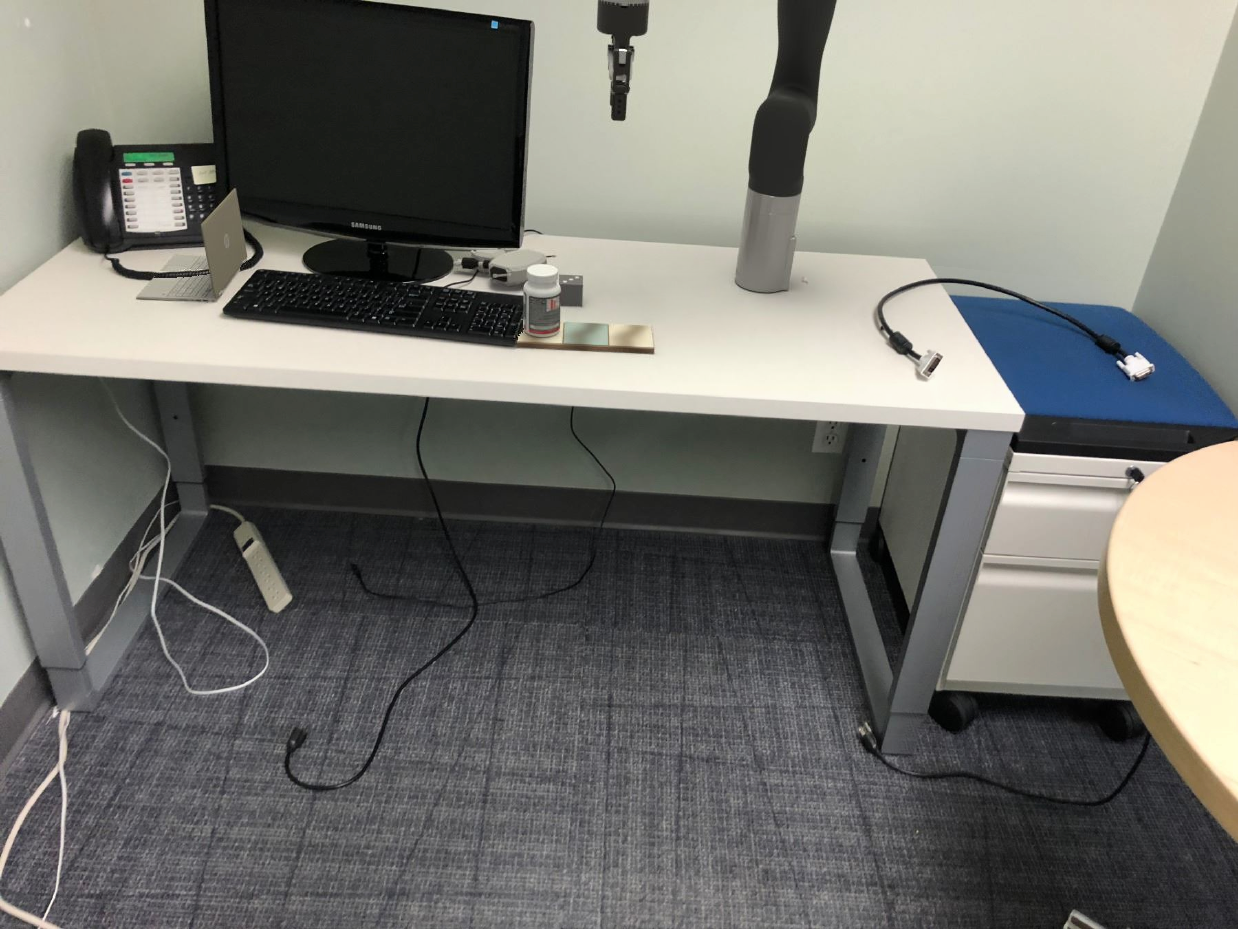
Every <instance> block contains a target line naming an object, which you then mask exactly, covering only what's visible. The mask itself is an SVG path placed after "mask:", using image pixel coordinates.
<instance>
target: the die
mask: <svg viewBox="0 0 1238 929" xmlns="http://www.w3.org/2000/svg"><path fill="white" fill-rule="evenodd" d="M558 284H559V285H560V287H561V307H573V308H574V307H575V308H576V307H577V308H582V307H583V294H584V293H583V292H584V275H580V274H578V275H577V274H559V273H558Z"/></svg>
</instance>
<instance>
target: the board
mask: <svg viewBox="0 0 1238 929" xmlns="http://www.w3.org/2000/svg"><path fill="white" fill-rule="evenodd" d="M653 334H654V333H653V327H652V325H641V324H624V323H622V324H620V323H617V324H616V323H603V322H602V323H601V322H596V323H595V322H576V321H575V322H574V321H560V330H559V332H558V333H557V334H555V335H553V336H549V337H536V336H532V335H529V334H528V333H526V332H525V330H523V333H522V332H521V334H519V335H520V336H518V335H517V337H518V340H517V339H516V349H517V348H519V349H540V350H562V351H563V350H564V351H587V352H604V353H605V352H606V353H630V354H649V355H650V354H651V355H652V354H653V355H654V354H655V343H654V342H655V341H654V335H653Z"/></svg>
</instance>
